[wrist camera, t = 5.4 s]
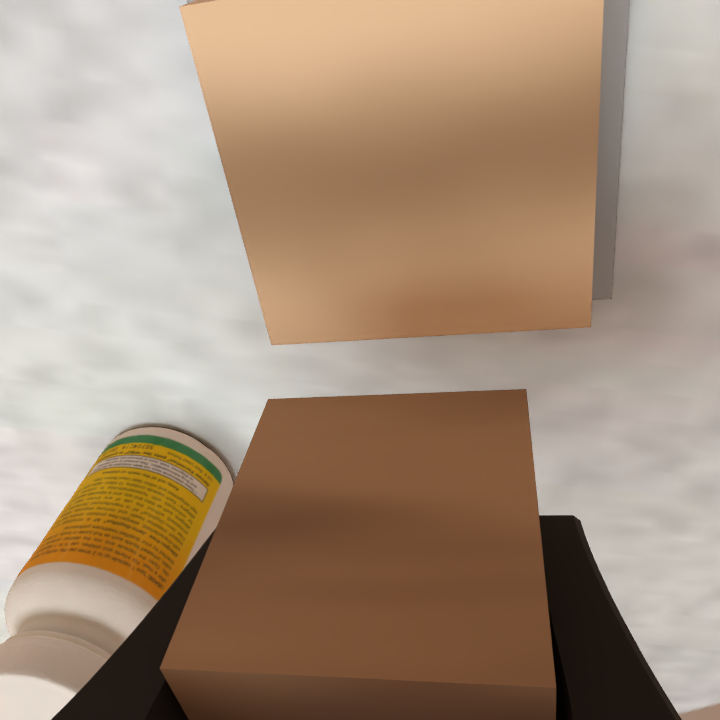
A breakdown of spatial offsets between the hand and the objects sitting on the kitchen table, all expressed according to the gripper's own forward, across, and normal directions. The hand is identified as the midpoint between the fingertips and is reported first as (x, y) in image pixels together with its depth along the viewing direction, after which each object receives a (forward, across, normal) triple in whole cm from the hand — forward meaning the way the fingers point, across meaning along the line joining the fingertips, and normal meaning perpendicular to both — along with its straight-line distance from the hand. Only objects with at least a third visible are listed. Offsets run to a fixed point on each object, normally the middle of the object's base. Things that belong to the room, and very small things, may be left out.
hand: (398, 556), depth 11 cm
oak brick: (+10, 0, -4) cm, 11 cm away
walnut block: (+2, 0, 0) cm, 2 cm away
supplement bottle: (+11, +11, +8) cm, 17 cm away
